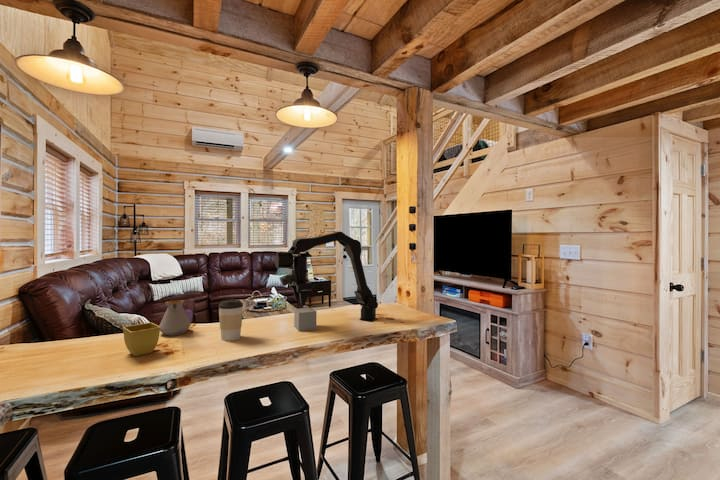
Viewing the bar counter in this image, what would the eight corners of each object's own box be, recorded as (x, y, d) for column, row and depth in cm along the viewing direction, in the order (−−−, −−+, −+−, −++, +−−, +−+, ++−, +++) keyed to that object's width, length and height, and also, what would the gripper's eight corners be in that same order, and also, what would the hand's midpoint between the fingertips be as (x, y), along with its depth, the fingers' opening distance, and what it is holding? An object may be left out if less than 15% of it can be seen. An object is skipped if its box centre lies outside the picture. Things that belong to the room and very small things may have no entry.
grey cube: (311, 324, 149) (311, 307, 149) (316, 329, 142) (316, 311, 142) (294, 326, 146) (294, 309, 146) (298, 331, 139) (298, 312, 139)
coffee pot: (159, 330, 137) (159, 294, 137) (190, 327, 143) (190, 292, 142) (155, 346, 118) (155, 305, 118) (191, 342, 124) (191, 302, 123)
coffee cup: (217, 336, 131) (218, 298, 131) (241, 333, 135) (242, 297, 135) (218, 343, 123) (218, 303, 123) (244, 340, 127) (244, 301, 127)
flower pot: (151, 346, 118) (151, 321, 118) (160, 352, 113) (160, 326, 113) (122, 353, 111) (122, 327, 111) (130, 360, 106) (130, 332, 106)
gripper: (277, 265, 147) (276, 300, 148) (286, 270, 130) (285, 309, 131) (301, 265, 152) (301, 298, 152) (313, 269, 135) (312, 307, 136)
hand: (299, 303), depth 143 cm, fingers open, 9 cm apart
